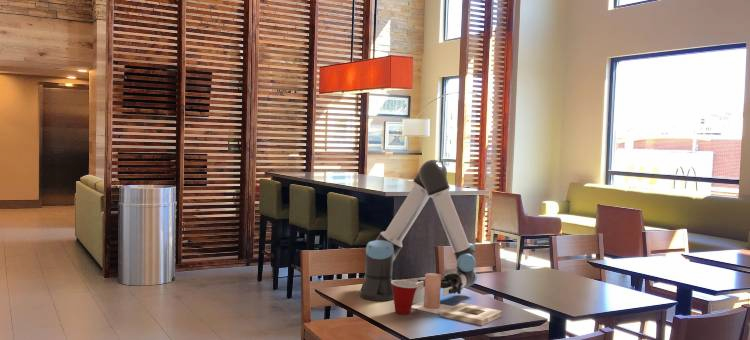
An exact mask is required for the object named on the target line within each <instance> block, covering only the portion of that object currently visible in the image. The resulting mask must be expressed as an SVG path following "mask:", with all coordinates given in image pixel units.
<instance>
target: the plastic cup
mask: <svg viewBox="0 0 750 340" xmlns="http://www.w3.org/2000/svg"><path fill="white" fill-rule="evenodd" d="M416 283H417V282H413V281H410V280H405V279H404V280H403V279H394V280H393V279H392V281H391V284H392V288H393V297H394V299H393V305H394V312H395V313H396V314H398V315H409V314H410V313H411V310H412V308H411V306H412V305H413V302H414V297H415V293H416V291H417V290H416V288H417V287H418V284H416Z"/></svg>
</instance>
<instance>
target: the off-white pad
mask: <svg viewBox="0 0 750 340" xmlns="http://www.w3.org/2000/svg"><path fill="white" fill-rule="evenodd" d="M449 307H452V305H447V304H443V303H440V307H439V308H437V309H430V308H425V307H424V300H423V301H420V302H416V303H414V304H412V306H411V310H412V309H413V310H416V309H417V311H422V312H426V313H430V312H431V313H432V314H435V315H440V311H442V310H444V309H447V308H449ZM431 313H430V314H431Z"/></svg>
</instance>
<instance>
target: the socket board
mask: <svg viewBox="0 0 750 340" xmlns="http://www.w3.org/2000/svg"><path fill="white" fill-rule="evenodd" d="M451 306H452V305H451ZM439 316H440V317H442V318H447V319H452V320H455V321H461V322H464V323H469V324H475V325H478V326H484V325H486V324H488V323H491V322H492V321H495V320H497V319H500V318H501V317H503V310H499V309H494V308H488V307H484V306H480V305H474V304H471V303H464V302H459V303H458V304H455V305H453V306H452V307H449V308H447V309H444V310H442V311H440V314H439Z"/></svg>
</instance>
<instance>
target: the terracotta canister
mask: <svg viewBox="0 0 750 340" xmlns="http://www.w3.org/2000/svg"><path fill="white" fill-rule="evenodd" d="M424 279H425V287H424V288H423V289H424V290H423V291H424V293H423V301H424V307H425V308H430V309H437V308H439V307H440V304H441V289H442V288H441V279H442V275H441V273H440V274H439V273H434V272H433V273H432V272H431V273H425V274H424Z"/></svg>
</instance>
